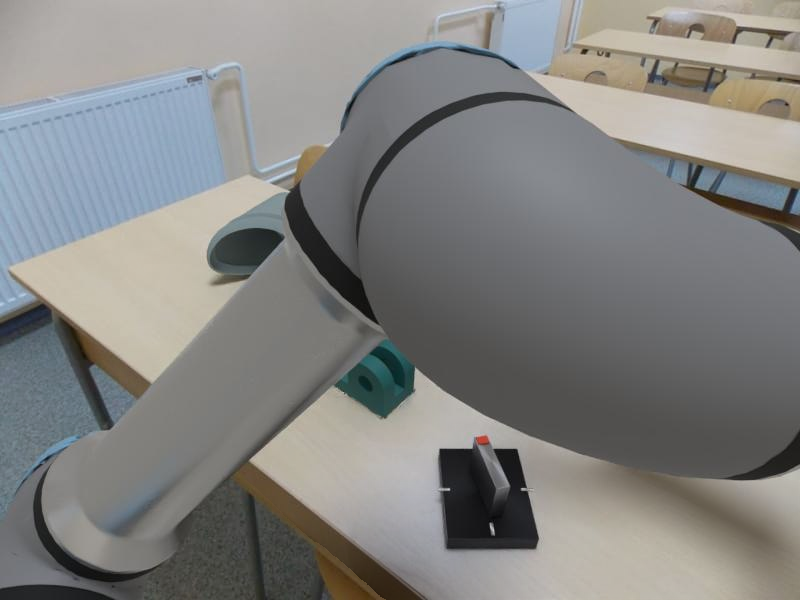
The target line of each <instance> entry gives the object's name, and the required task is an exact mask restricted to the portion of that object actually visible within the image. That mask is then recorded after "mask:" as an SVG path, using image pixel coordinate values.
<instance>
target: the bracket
mask: <svg viewBox="0 0 800 600" xmlns="http://www.w3.org/2000/svg"><path fill="white" fill-rule="evenodd" d="M415 375H416V368H415V367H414V366H413V365H412V364H411V363H410V362H409V361H408V360H407V359H406V358H405V357H404V356H403V355H402V354H401V353H400V352H399V351H398V350H397V348H396V347H395V346H394V345H393V344H392V343H391V341H390V340H388V339H385V340H384V341H383V342H382V343H380V344H379V345H378V346H377V347H376V348H375V349H374V350H373V351H371V352H370V353H369V354H368V355H367V356H366V357H365V358H364V359H362V360H361V361H360V362H359V363H358V364H357V365H356V366H355V367H353V368H352V369H351V370H350V371H349V372H348V373H347V374H346V375H344V376H343V377H342V378H341V379H340V380H339V381H338V382H337V383H335V384H334V385H333V387H335V388H337V389H339V390H340V391H341V392H343V393H345V394H346V395H347V396H349V397H351V398H352V399H354V400H355V401H356V402H358V403H360V404H361V405H362V406H364V407H366V408H367V409H369V410H370V411H372V412H373V413H375V414H377V415H378V416H379V417H381V418H383V419H386V418H387V416H389V415H390V414H391V413H392V412H393V411H394V410H395V409H396V408H398V407H399V405H400V404H402V403H403V402H404V401H405V400H406V399H407V398H408V397H409V396H411V394H413V393H414V392H415V378H416V377H415Z"/></svg>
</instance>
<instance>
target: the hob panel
mask: <svg viewBox="0 0 800 600" xmlns="http://www.w3.org/2000/svg"><path fill="white" fill-rule="evenodd" d="M493 450H494V452H495V454H496V456H497V459H498V461H499V463H500V465H501V467H502V469H503V472H504V474H505V476H506V478H507V480H508V482H509V485H510V489H509V493H508V497H507V501H506V505H505V509H504V513H503V515H502V516H497V517H492V518H490V517H489V514H488V512H487V509H486V507H485V504H484V502H483V499H482V497H481V494H480V492H479V489H478V487H477V484H476V482H475V479H474V477H473V474H472V472H471V469H470V467H469V466H470V460H471V454H472V448H443V447H441V448H438V457H437V459H438V471H439V483H440V484H439V485H440V487H438V488H437V492H440V493H441V494H440V495H441V502H442V503H441V506H442V516H443V525H444V526H443V527H444V539H445V548H446V549H447V550H449V549H450V550H451V549H452V550H455V549H456V550H459V549H460V550H462V549H463V550H467V549H468V550H469V549H470V550H474V549H475V550H477V549H479V550H480V549H482V550H483V549H484V550H485V549H487V550H489V549H490V550H493V549H498V550H499V549H501V550H502V549H504V550H505V549H506V550H507V549H508V550H509V549H510V550H511V549H516V550H518V549H519V550H520V549H521V550H522V549H537V547H538V544H539V541H540V537H539V536H540V535H539V532H538V528H537V524H536V520H535V515H534V511H533V508H532V507H533V506H532V504H531V500H530V495H529V492H534V488H533V487H527V483H526V478H525V474H524V469H523V466H522V461H521V457H520V453H519V450H518V448H493Z"/></svg>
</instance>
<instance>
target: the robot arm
mask: <svg viewBox="0 0 800 600" xmlns="http://www.w3.org/2000/svg"><path fill="white" fill-rule="evenodd" d="M345 106H346V107H345V110H344V112H343V115H342V117H341V122H340V127H339V129H340V130H339V135H338V136H337V137H336V138H335V139H334V141H332V143H331V144H330V145H329V146H328V147H327V148H326V150H325V151H324V152H323V153H322V154H321V155H320V156H319V157H318V159H317V160H316V161H315V162H314V163H313V165H312V166H311V167H310V168H309V169H308V170H307V171H306V173H305V174H303V176H302V177H301V179H300V180H299V181H298V182H297V183H296V184H295V185H294V186H293V188H292V189H291V190H290V191H288V192H289V194H288V195H287V196H286V197H285V199H284V200H283V202H282V206H281V216H282V222H283V229H284V236H285V239H284V240H283V241H282V242H281V243H280V244H279V245H278V246H277V248H276V249H275V250H274V251H273V252H272V253H271V254H270V255H269V256H268V257H267V258H266V260H265V261H264V262H263V263H262V264H261V265H260V266H259V267H258V268H257V269H256V271H255V272H254V273H253V274H250V276H249V277H248V278H247V279H246V280H245V281H244V282H243V283H242V285H240V287H239V288H238V289H237V290H236V291H235V292H234V293H233V294H232V296H230V298H229V299H228V300H227V301H226V302H225V303H224V304H223V306H221V307H220V309H218V310H217V312H216V313H215V314H214V315H213V316H212V317H211V319H210V320H209V321H207V323H206V324H205V325H204V326H203V327H202V329H200V330H199V332H198V333H197V334H196V335H195V336H194V337H193V338H192V339H191V341H189V342H188V344H187V345H186V346H185V347H184V348H183V349H182V350H181V351H180V352H179V353H178V354H177V356H176V357H175V358H174V359H173V360H172V361H171V362H170V363H169V364H168V365H167V367H166V368H165V369H164V370H163V371H162V372H161V373H160V374H159V375H158V377H156V379H155V380H154V381H152V383H151V384H150V385H149V386H148V387H147V389H146V390H145V391H144V392H143V393H142V394H141V395H140V396H139V397H138V399H136V400H135V402H134V403H132V405H131V406H130V407H129V408H128V410H126V412H124V413H123V414H122V416H120V418H119V419H118V420H117V421H116V422H115V424H114V425H112V427H111V428H110V429H107V430H94V431H90V432H88V433H87V435H85V436H82V435H80V434H74V435H72V436H69V437H66V438H65V439H62V440H60V441H58V442H57V443H55V444H54V445H52V446H50V447H49V448H47V450H45V451H44V452H43V453H41V455H40V456H39V457H38V458H37V460H36V461H35V462H34V464H33V465H32V466H31V467H30V469H29V470H27V472H26V473H25V474H24V476H23V477H22V479H21V480H20V482H19V484H18V485H17V487H16V489H15V491H14V494H13V496H12V499H11V503H10V505H9V507H8V509H7V511H6V513H5V514H4V517H3V519H2V521H1V522H0V600H143V598H144V593H145V589H146V584H147V583H148V579H150V576H151V574H152V573H153V572H154V571H156V570H157V569H158V568H159V567H160V566H162V565H163V564H164V563H165V562H166V561H167V560H168V559H169V558H171V556H173V555H174V554H175V553H176V552H177V551H178V550H179V549H180V547H181V546H182V545H183V544H184V542H185V541H186V540H187V538H188V537H189V534H190V532H191V530H192V528H193V525H194V522H195V516H196V511H197V509H196V508H197V507H198V506H199V505H201V504H202V503H203V502H204V501H205V500H206V499H208V498H209V497H210V496H211V495H212V494H213V493H214V492H215V491H216V490H218V489H219V488H220V487H221V486H222V485H223V484H224V483H225V482H227V481H228V480H229V479H230V478H231V477H232V476H233V475H234V474H235V473H237V472H238V471H239V470H240V469H241V468H243V467H244V466H245V465H246V464H247V463H248V462H249V461H251V459H252V458H253V457H255V456H256V455H257V454H258V453H259V452H260V451H261V450H262V449H264V448H265V447H266V446H267V445H268V444H269V443H270V442H271V441H273V440H274V439H275V438H276V437H277V436H278V435H279V434H281V433H282V432H283V431H284V430H285V429H286V428H287V427H288V426H289V425H291V424H292V423H293V422H294V421H295V420H296V419H298V417H300V416H301V415H302V414H303V413H304V412H305V411H306V410H308V408H310V407H311V406H312V405H314V403H315V402H317V401H318V400H319V399H320V398H321V397H322V396H323V395H325V393H327V392H328V391H329V390H330V389H331V388H333V387H334V384H335V383H337V382H338V381H339V380H340V379H341V378H342V377H343V376H344V375H346V374H347V373H348V372H349V371H350V370H351V369H352V368H353V367H355V366H356V365H357V364H358V363H359V362H360V361H361V360H362V359H364V358H365V357H366V356H367V355H368V354H369V353H370V352H371V351H373V350H374V349H375V348H376V347H377V346H378V345H379V344H380V343H382V342H383V341H384V340H385V339H388V340H390V341H391V343H392V344H393V345H394V346H395V347H396V348H397V350H398V351H399V352H400V353H401V354H402V355H403V356H404V357H405V358H406V359H407V360H408V361H409V362H410V363H411V364H412V365H413V366H414V367H415V370H417V371H419V373H421V375H423V376H425V378H427V379H428V380H429V381H430V382H432V383H433V384H434V385H436V387H438V388H440V390H442V391H443V392H445V393H446V394H448V395H450V396H451V397H453V398H454V399H456V400H458V401H459V402H461V403H462V404H465V405H466V406H468V407H470V408H471V409H472V410H473V409H474V410H475V411H476V412H477V413H479V414H481V415H483V416H485V417H487V418H489V419H491V420H494V421H495V422H498V423H500V424H502V425H505V426H507V427H508V428H511V429H513V430H516V431H517V432H519V433H522V434H525V435H526V436H527V437H531V438H534V439H536V440H540V441H543V442H545V443H548V444H551V445H554V446H557V447H559V448H562V449H565V450H568V451H571V452H573V453H576V454H579V455H583V456H586V457H589V458H593V459H597V460H600V461H604V462H608V463H611V464H614V465H619V466H621V467H626V468H629V469H633V470H638V471H645V472H650V473H654V474H655V473H656V474H661V475H667V476H671V477H672V476H673V477H678V478H688V479H689V478H690V479H705V480H706V479H707V480H725V481H741V482H742V481H764V480H770V479H774V478H775V479H776V478H779V477H782V476H786V475H788V474H790V473H793V472H795V471H798V470H800V231H799V230H797V229H795V228H792V227H788V226H785V225H782V224H779V223H775V222H771V221H767V220H766V221H765V220H762V219H757V218H754V217H753V218H752V217H750V216H749V217H748V216H745V215H742V214H739V213H738V212H736V211H733V210H730V209H728V208H726V207H724V206H721V205H719V204H717V203H715V202H713V201H711V200H709V199H708V198H706V197H703V196H701V195H700V194H698V193H697V192H694V191H692V190H691V189H689V188H687V187H685V186H683V185H682V184H680V183H678V182H676V181H675V180H674V179H672V178H670V177H669V176H668V175H666V174H664V173H663V172H661V171H660V170H659V169H657V168H656V167H654V166H652V165H651V164H650V163H648V162H647V161H645V160H643V159H642V158H641V157H639V156H638V155H636V154H635V153H633V152H632V151H630V150H629V149H628V148H626V147H625V146H624V145H622V144H621V143H619V142H618V141H617V140H616V139H615V138H613V137H612V136H610V135H608V134H607V133H606V132H605V131H603V130H602V129H601V128H599V127H598V126H597V125H595V124H594V123H593V122H591V121H589V120H588V119H586V118H584V116H582V115H580V114H578V112H576V111H575V110H574V109H572V108H571V107H569V106H568V105H567V104H566V103H565V102H564V101H562V100H561V99H560V98H558V96H556V95H555V94H553V93H552V92H551V91H549V90H548V89H547V88H546V87H544V86H543V85H542V84H541V83H540V82H538V81H537V80H536V79H535V78H533V77H532V76H531V75H530V74H528V73H527V72H525V70H523V69H522V68H521V67H520V66H519V65H518V64H517V63H516V62H514V61H513V60H512V59H509V58H506V57H504V56H503V55H500V54H499V53H497V52H495V51H493V50H491V49H488V48H483V47H479V46H476V45H475V46H474V45H471V44H466V43H463V42H458V41H457V42H456V41H447V40H445V41H427V42H422V43H418V44H414V45H411V46H408V47H405V48H402V49H400V50H398V51H396V52H395V53H393V54H390V55H389V56H388V57H386V58H384V59H383V60H382V61H380V62H379V63H378V64H376V65H375V66H373V68H372V69H370V71H369V72H368V73H367V74H366V75H365V76H364V78H363V79H362V80H361V81H360V82H359V84H358V86H356V88H355V90H354V91H353V93H352V95H351V98H350V100H349V101H348V102H346V105H345Z"/></svg>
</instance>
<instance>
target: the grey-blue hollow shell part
mask: <svg viewBox="0 0 800 600" xmlns="http://www.w3.org/2000/svg"><path fill="white" fill-rule="evenodd" d="M289 192H290V191H282V192H278V193H276V194H274V195H272V196H270V197H269V198H267V199H265V200H263V201H262V202H260V203H259V204H256V205H255V206H254V207H251V208H250V209H249V210H247V211H246V212H244V213H243V214H241V215H239V216H237V217H235V218H233V219H232V220H230V221H229V222H228V223H227V224H226V225H224V226H222V227H221V228H220V229H218V230H217V231H216V233H215V234H214V235H213V236H212V238H211V239H210V241H209V242H208V245H207V249H206V260H207V261H206V262H207V265H208V267H209V268H210V269H211V270H212V271H214V272H215V273H218V274H221V275H227V276H247V275H250V276H251V275H252V274H253V273H254V272H255V271H256V269H257V268H258V267H259V266H260V265H261V264H262V263H263V262H264V261H265V260H266V258H267V257H268V256H269V255H270V254H271V253H272V252H273V251H274V250H275V249H276V248H277V246H278V245H279V244H280V243H281V242H282V241H283V240H284V239H285V236H284V229H283V222H282V216H281V206H282V202H283V200H284V199H285V197H286V196H287V195H288V194H289Z"/></svg>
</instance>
